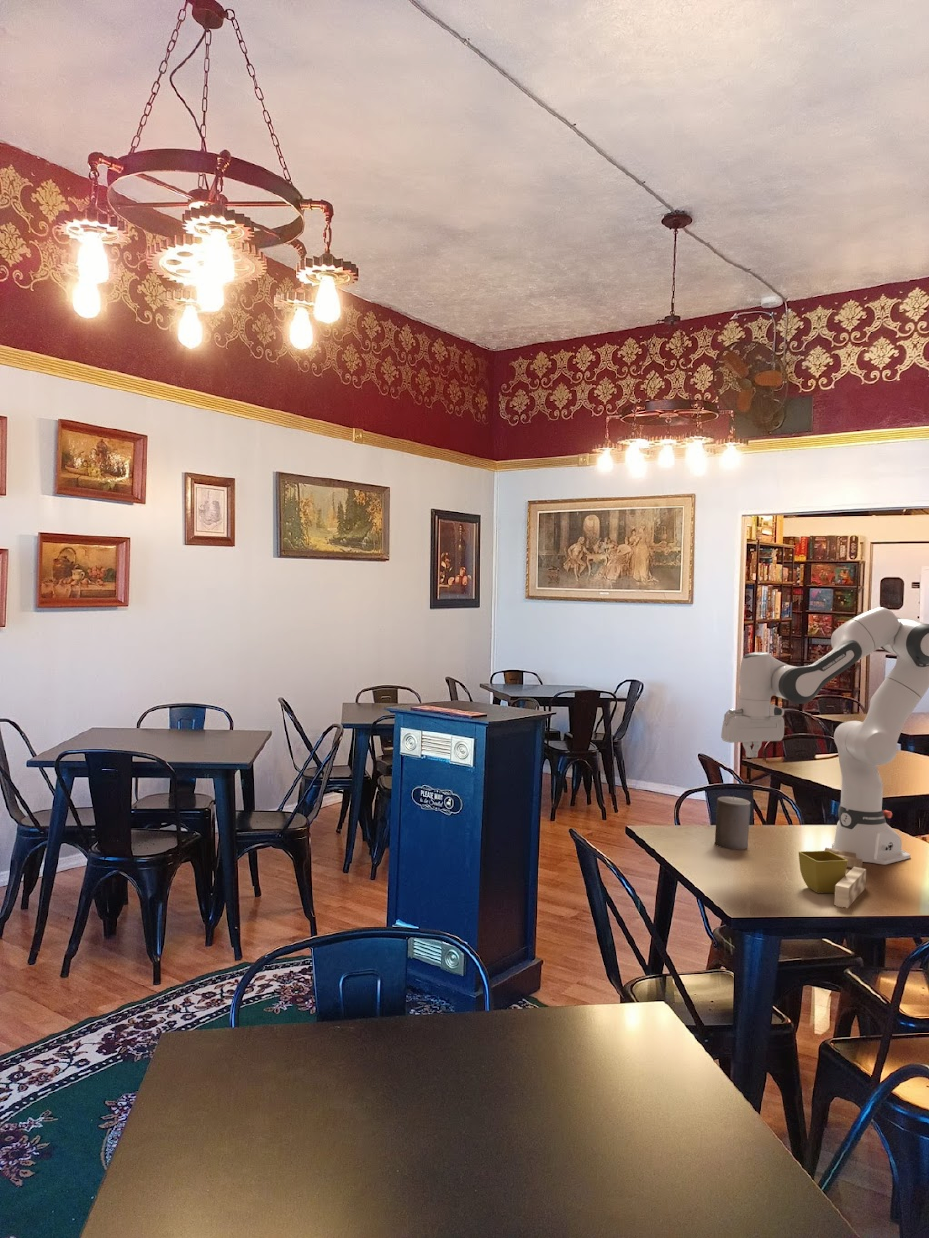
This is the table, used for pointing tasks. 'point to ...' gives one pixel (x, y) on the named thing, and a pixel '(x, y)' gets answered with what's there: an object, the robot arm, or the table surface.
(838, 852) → the roller
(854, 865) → the roller
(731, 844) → the pillar candle
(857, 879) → the rail
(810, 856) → the flower pot
